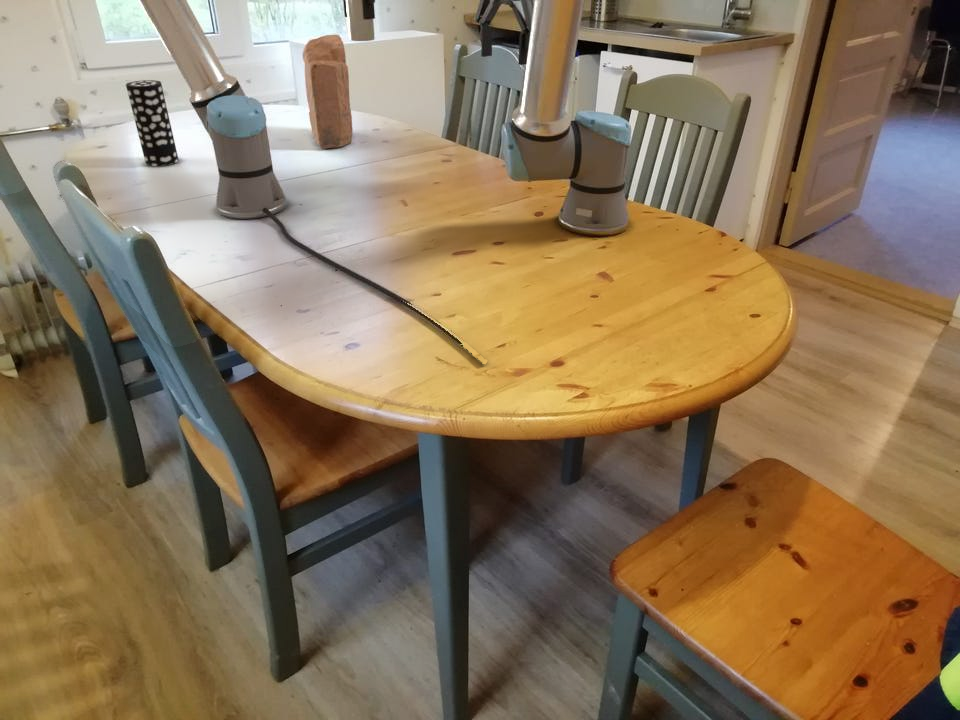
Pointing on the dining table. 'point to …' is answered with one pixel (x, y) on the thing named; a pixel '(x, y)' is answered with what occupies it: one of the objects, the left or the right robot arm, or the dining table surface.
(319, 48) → the stone
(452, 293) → the dining table surface
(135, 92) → the black white spotted cylinder
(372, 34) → the tin
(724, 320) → the dining table surface
